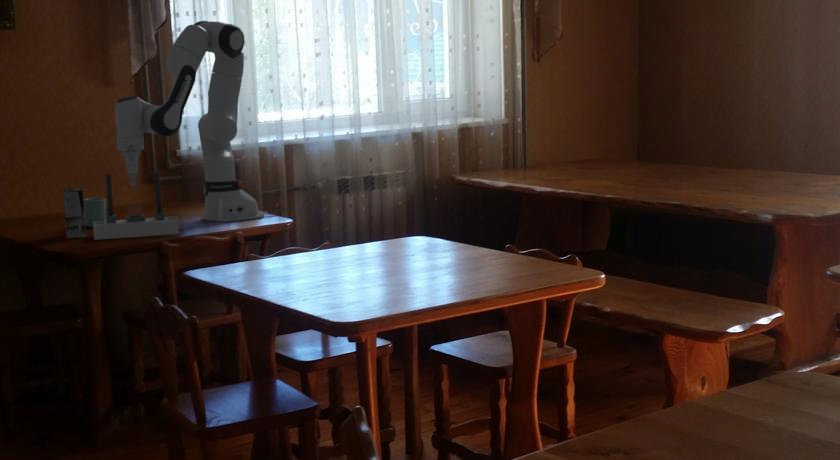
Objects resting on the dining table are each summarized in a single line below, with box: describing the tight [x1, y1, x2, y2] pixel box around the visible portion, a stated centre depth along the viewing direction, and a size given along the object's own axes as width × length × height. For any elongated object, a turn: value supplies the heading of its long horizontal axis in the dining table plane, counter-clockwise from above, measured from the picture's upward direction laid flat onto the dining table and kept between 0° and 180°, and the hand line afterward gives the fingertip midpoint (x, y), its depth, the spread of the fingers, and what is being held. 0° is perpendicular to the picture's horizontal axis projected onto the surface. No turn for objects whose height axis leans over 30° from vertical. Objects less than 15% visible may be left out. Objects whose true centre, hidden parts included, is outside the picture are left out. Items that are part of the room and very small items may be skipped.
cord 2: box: [153, 171, 166, 220], centre depth 361 cm, size 3×4×16 cm
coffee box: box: [62, 187, 87, 239], centre depth 361 cm, size 9×6×16 cm
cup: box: [84, 197, 107, 228], centre depth 378 cm, size 8×8×10 cm
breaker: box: [128, 204, 143, 216], centre depth 360 cm, size 4×1×3 cm, turn 105°
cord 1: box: [105, 173, 117, 224], centre depth 357 cm, size 3×4×16 cm
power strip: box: [92, 213, 180, 241], centre depth 361 cm, size 28×7×7 cm, turn 105°
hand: (133, 185), depth 358 cm, fingers closed
